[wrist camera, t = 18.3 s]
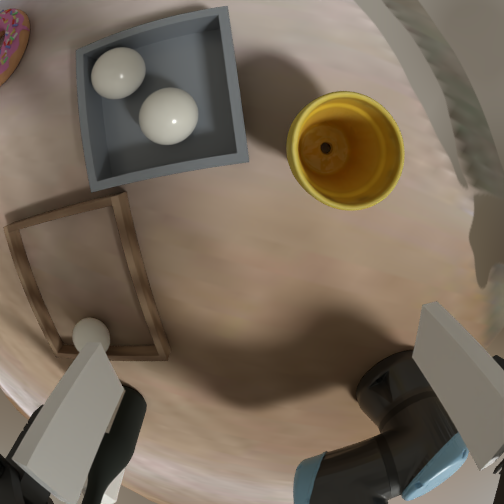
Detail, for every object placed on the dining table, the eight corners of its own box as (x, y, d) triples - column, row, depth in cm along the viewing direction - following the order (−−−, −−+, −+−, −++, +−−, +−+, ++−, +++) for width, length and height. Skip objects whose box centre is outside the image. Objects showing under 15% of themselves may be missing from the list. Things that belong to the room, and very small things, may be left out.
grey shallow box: (249, 159, 31) (249, 162, 26) (110, 185, 31) (91, 192, 27) (230, 23, 25) (227, 5, 20) (95, 59, 25) (75, 50, 21)
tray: (171, 349, 40) (167, 360, 38) (62, 348, 41) (56, 357, 39) (126, 191, 32) (118, 195, 30) (13, 222, 33) (3, 227, 30)
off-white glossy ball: (195, 145, 30) (209, 132, 24) (142, 155, 28) (144, 143, 22) (187, 96, 28) (200, 75, 23) (135, 104, 26) (136, 82, 21)
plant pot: (340, 91, 28) (375, 74, 19) (377, 169, 31) (420, 182, 22) (261, 127, 30) (267, 121, 21) (303, 207, 33) (325, 232, 24)
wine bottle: (102, 392, 45) (50, 520, 17) (119, 376, 43) (62, 524, 15) (135, 414, 47) (99, 543, 19) (155, 401, 45) (119, 548, 17)
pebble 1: (121, 341, 40) (107, 366, 34) (91, 341, 40) (76, 364, 35) (107, 309, 38) (90, 332, 32) (77, 310, 38) (59, 332, 32)
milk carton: (114, 442, 52) (95, 503, 34) (128, 456, 55) (113, 514, 37) (93, 439, 53) (72, 496, 35) (108, 453, 55) (91, 508, 37)
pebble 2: (114, 109, 23) (74, 75, 19) (120, 110, 28) (86, 81, 24) (158, 64, 22) (118, 30, 19) (156, 73, 27) (122, 44, 24)
